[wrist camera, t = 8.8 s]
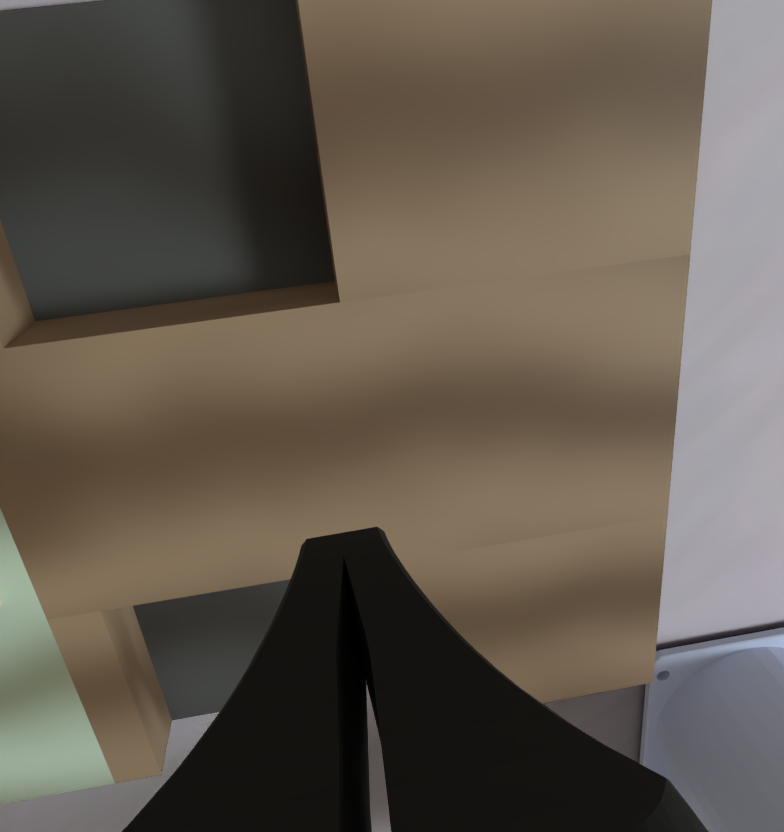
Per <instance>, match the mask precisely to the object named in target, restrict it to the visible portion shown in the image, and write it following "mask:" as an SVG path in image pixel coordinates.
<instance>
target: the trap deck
mask: <svg viewBox="0 0 784 832" xmlns="http://www.w3.org/2000/svg"><path fill="white" fill-rule="evenodd" d="M711 8H712V0H103V1H93V2H83V3H73V4H63V5H53V6H43V7H33V8H23V9H13V10H3V11H0V601H1V603H2V605H1V607H0V805H2V804H8V803H13V802H18V801H24V800H29V799H34V798H40V797H45V796H50V795H56V794H61V793H66V792H72V791H77V790H82V789H88V788H93V787H98V786H104V785H109V784H115V783H120V782H125V781H131V780H136V779H141V778H147V777H152V776H157V775H161V774H162V768H163V763H164V758H165V753H166V748H167V743H168V737H169V732H170V727H171V722H172V720H176V719H182V718H187V717H193V716H198V715H204V714H209V713H215V712H220V711H221V709H222V708H223V706H224V705H225V703H226V702H227V700H228V699H229V697H230V696H231V694H232V693H233V691H234V690H235V688H236V686H237V685H238V683H239V682H240V680H241V678H242V677H243V675H244V673H245V672H246V670H247V668H248V666H249V665H250V663H251V661H252V659H253V657H254V655H255V653H256V652H257V650H258V648H259V646H260V644H261V642H262V640H263V639H264V637H265V635H266V633H267V631H268V629H269V627H270V625H271V623H272V621H273V619H274V616H275V614H276V612H277V610H278V608H279V605H280V603H281V601H282V599H283V596H284V594H285V592H286V589H287V587H288V584H289V582H290V579H291V577H292V574H293V571H294V569H295V566H296V563H297V560H298V556H299V553H300V549H301V545H302V544H303V543H304V542H305V540H306V539H309V538H314V537H320V536H326V535H332V534H338V533H343V532H349V531H355V530H361V529H366V528H372V527H379V528H380V529H382V530H383V531H384V532H385V534H386V537H387V539H388V541H389V543H390V545H391V547H392V549H393V550H394V552H395V554H396V555H397V557H398V558H399V560H400V561H401V563H402V564H403V566H404V567H405V569H406V570H407V572H408V573H409V575H410V576H411V577H412V579H413V580H414V581H415V583H416V584H417V585H418V586H419V588H420V589H421V590H422V591H423V593H424V594H425V595H426V597H427V598H428V599H429V600H430V602H431V603H432V604H433V605H434V606H435V607H436V609H437V610H438V611H439V612H440V613H441V614H442V615H443V616H444V618H445V619H446V620H447V621H448V622H449V623H450V624H451V625H452V626H453V627H454V628H455V629H456V631H457V632H458V633H459V634H460V635H461V636H462V637H463V638H464V639H465V640H466V641H467V642H468V643H469V644H470V645H471V646H473V647H474V648H475V649H476V650H477V651H478V652H479V653H480V654H481V655H482V656H483V657H484V658H486V659H487V660H488V661H489V662H490V663H491V664H492V665H493V666H494V667H496V668H497V669H498V670H499V671H500V672H502V673H503V674H504V675H505V676H506V677H508V678H509V679H510V680H511V681H513V682H514V683H515V684H516V685H517V686H519V687H520V688H521V689H523V690H524V691H525V692H527V693H528V694H530V695H531V696H532V697H534V698H535V699H537V700H538V701H539V702H541V703H548V702H553V701H558V700H564V699H569V698H574V697H580V696H585V695H590V694H596V693H601V692H606V691H612V690H617V689H623V688H628V687H633V686H639V685H644V684H649V683H653V677H654V666H655V654H656V643H657V631H658V619H659V608H660V596H661V585H662V573H663V562H664V550H665V539H666V527H667V516H668V504H669V493H670V481H671V469H672V458H673V446H674V435H675V423H676V412H677V400H678V389H679V377H680V366H681V354H682V343H683V331H684V319H685V308H686V296H687V285H688V273H689V262H690V250H691V239H692V227H693V216H694V204H695V193H696V181H697V169H698V158H699V146H700V135H701V123H702V112H703V100H704V89H705V77H706V66H707V54H708V43H709V31H710V20H711ZM366 685H367V682H366Z"/></svg>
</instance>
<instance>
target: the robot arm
mask: <svg viewBox="0 0 784 832" xmlns="http://www.w3.org/2000/svg"><path fill="white" fill-rule="evenodd" d="M366 682H367V686H368V690H369V694H370V699H371V703H372V707H373V711H374V715H375V720H376V724H377V728H378V732H379V737H380V741H381V746H382V754H383V762H384V771H385V779H386V788H387V796H388V805H389V814H390V823H391V832H784V627H783V628H777V629H772V630H766V631H761V632H756V633H750V634H745V635H739V636H734V637H728V638H723V639H717V640H712V641H706V642H701V643H696V644H690V645H685V646H679V647H674V648H668V649H663V650H659V651H656V654H655V666H654V677H653V683H649V684H646V687H645V700H644V712H643V724H642V737H641V749H640V762H639V763H637V762H635V761H633V760H632V759H630V758H628V757H626V756H624V755H622V754H620V753H618V752H617V751H615V750H613V749H611V748H609V747H607V746H605V745H603V744H602V743H600V742H599V741H597V740H596V739H594V738H592V737H591V736H589V735H588V734H586V733H584V732H583V731H581V730H580V729H578V728H577V727H575V726H573V725H572V724H570V723H569V722H567V721H566V720H564V719H563V718H562V717H560V716H559V715H557V714H556V713H555V712H553V711H552V710H550V709H549V708H548V707H546V706H545V705H543V704H542V703H541V702H539V701H538V700H537V699H535V698H534V697H532V696H531V695H530V694H528V693H527V692H525V691H524V690H523V689H521V688H520V687H519V686H517V685H516V684H515V683H514V682H513V681H511V680H510V679H509V678H508V677H506V676H505V675H504V674H503V673H502V672H500V671H499V670H498V669H497V668H496V667H494V666H493V665H492V664H491V663H490V662H489V661H488V660H487V659H486V658H484V657H483V656H482V655H481V654H480V653H479V652H478V651H477V650H476V649H475V648H474V647H473V646H471V645H470V644H469V643H468V642H467V641H466V640H465V639H464V638H463V637H462V636H461V635H460V634H459V633H458V632H457V631H456V629H455V628H454V627H453V626H452V625H451V624H450V623H449V622H448V621H447V620H446V619H445V618H444V616H443V615H442V614H441V613H440V612H439V611H438V610H437V609H436V607H435V606H434V605H433V604H432V603H431V602H430V600H429V599H428V598H427V597H426V595H425V594H424V593H423V591H422V590H421V589H420V588H419V586H418V585H417V584H416V583H415V581H414V580H413V579H412V577H411V576H410V575H409V573H408V572H407V570H406V569H405V567H404V566H403V564H402V563H401V561H400V560H399V558H398V557H397V555H396V554H395V552H394V550H393V549H392V547H391V545H390V543H389V541H388V539H387V537H386V534H385V532H384V531H383V530H382V529H380V528H379V527H372V528H366V529H361V530H355V531H349V532H343V533H338V534H332V535H326V536H320V537H314V538H309V539H306V540H305V542H304V543H303V544H302V545H301V549H300V553H299V556H298V560H297V563H296V566H295V569H294V571H293V574H292V577H291V579H290V582H289V584H288V587H287V589H286V592H285V594H284V596H283V599H282V601H281V603H280V605H279V608H278V610H277V612H276V614H275V616H274V619H273V621H272V623H271V625H270V627H269V629H268V631H267V633H266V635H265V637H264V639H263V640H262V642H261V644H260V646H259V648H258V650H257V652H256V653H255V655H254V657H253V659H252V661H251V663H250V665H249V666H248V668H247V670H246V672H245V673H244V675H243V677H242V678H241V680H240V682H239V683H238V685H237V686H236V688H235V690H234V691H233V693H232V694H231V696H230V697H229V699H228V700H227V702H226V703H225V705H224V706H223V708H222V709H221V711H220V712H219V714H218V715H217V717H216V718H215V720H214V721H213V722H212V724H211V725H210V726H209V728H208V729H207V730H206V732H205V733H204V735H203V736H202V737H201V739H200V740H199V741H198V743H197V744H196V745H195V747H194V748H193V750H192V751H191V752H190V753H189V755H188V756H187V757H186V759H185V760H184V761H183V762H182V764H181V765H180V766H179V767H178V769H177V770H176V771H175V772H174V773H173V775H172V776H171V777H170V778H169V779H168V780H167V782H166V783H165V784H164V785H163V786H162V787H161V788H160V790H159V791H158V792H157V793H156V794H155V795H154V796H153V798H152V799H151V800H150V801H149V802H148V803H147V804H146V805H145V807H144V808H143V809H142V810H141V811H140V812H139V813H138V815H137V816H136V817H135V818H134V819H133V820H132V821H131V822H130V824H129V825H128V826H127V827H126V828H125V829H124V830H123V831H122V832H372V830H371V816H370V795H369V762H368V728H367V697H366Z"/></svg>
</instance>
